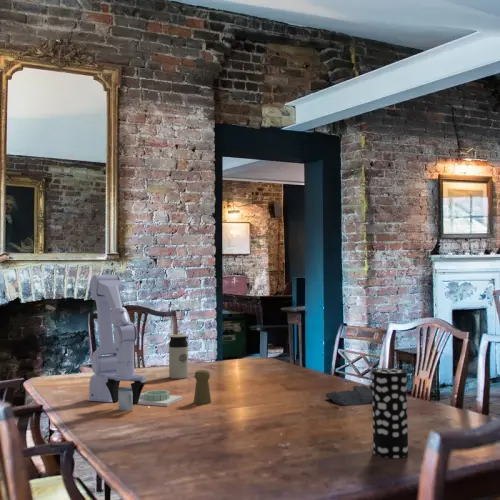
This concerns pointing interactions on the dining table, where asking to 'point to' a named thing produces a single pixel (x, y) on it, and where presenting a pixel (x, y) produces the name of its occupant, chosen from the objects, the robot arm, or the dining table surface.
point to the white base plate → (157, 398)
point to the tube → (125, 398)
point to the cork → (202, 387)
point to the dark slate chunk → (352, 396)
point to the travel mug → (178, 356)
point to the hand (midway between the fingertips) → (125, 403)
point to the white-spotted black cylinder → (390, 412)
